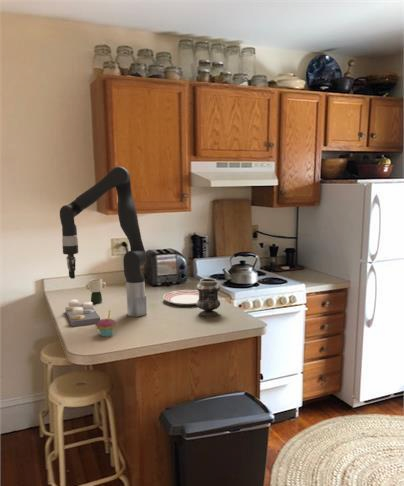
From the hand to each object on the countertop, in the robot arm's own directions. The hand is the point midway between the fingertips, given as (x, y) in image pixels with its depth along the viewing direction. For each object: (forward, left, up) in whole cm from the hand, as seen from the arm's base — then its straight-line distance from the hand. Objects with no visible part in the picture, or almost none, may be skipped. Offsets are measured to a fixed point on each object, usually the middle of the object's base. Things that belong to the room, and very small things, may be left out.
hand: (71, 277), depth 216 cm
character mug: (+9, -21, -19) cm, 30 cm away
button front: (-15, +6, -15) cm, 22 cm away
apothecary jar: (-55, -44, -19) cm, 72 cm away
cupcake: (-39, +8, -19) cm, 44 cm away
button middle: (-10, -2, -15) cm, 18 cm away
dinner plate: (-29, -56, -20) cm, 65 cm away
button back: (0, 0, -15) cm, 15 cm away
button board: (-9, 0, -19) cm, 21 cm away
